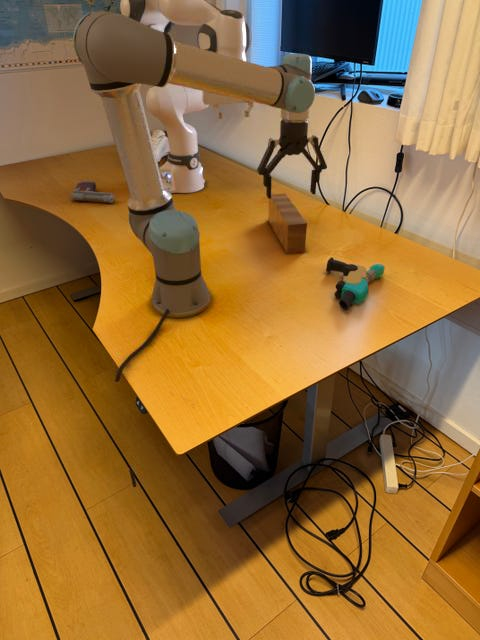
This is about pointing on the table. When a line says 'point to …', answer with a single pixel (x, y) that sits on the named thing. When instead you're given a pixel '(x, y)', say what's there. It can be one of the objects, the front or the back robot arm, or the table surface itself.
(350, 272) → the toy gun
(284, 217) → the bar
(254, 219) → the table surface
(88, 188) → the toy gun
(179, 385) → the table surface
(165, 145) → the sneaker
